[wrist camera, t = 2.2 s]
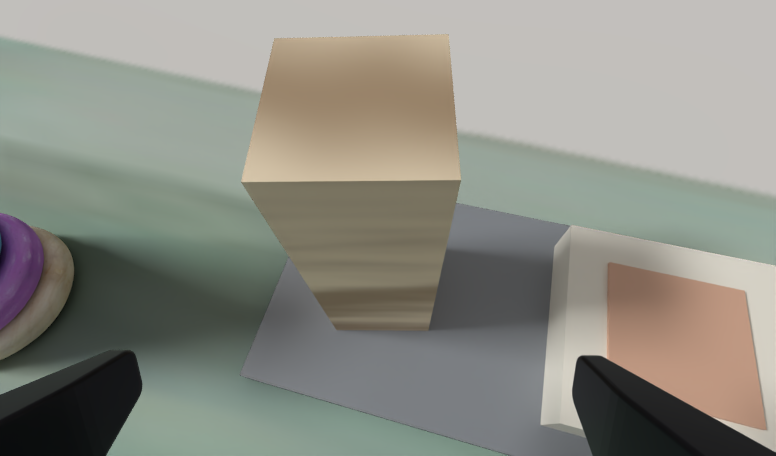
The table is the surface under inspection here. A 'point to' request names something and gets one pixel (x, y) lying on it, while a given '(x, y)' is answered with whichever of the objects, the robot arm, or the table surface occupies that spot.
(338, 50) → the maple pillar
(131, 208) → the table surface
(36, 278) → the stacking toy
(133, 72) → the table surface
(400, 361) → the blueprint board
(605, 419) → the robot arm
